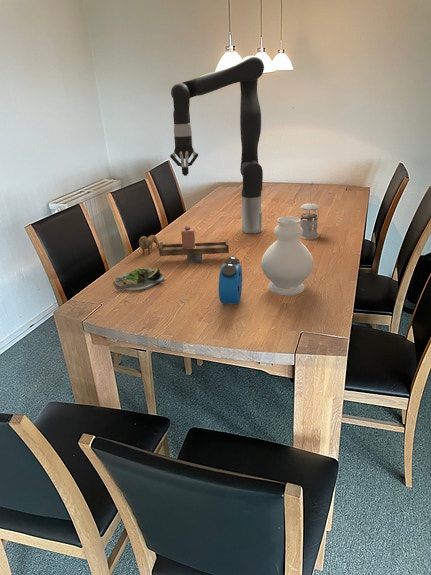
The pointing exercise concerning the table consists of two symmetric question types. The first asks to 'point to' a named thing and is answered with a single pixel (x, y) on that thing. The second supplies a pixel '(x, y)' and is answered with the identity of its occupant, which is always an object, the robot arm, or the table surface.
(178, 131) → the robot arm
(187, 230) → the rider
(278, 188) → the table surface
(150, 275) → the salad plate
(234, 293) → the alarm clock
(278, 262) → the decorative vase
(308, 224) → the french press
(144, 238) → the lion figurine
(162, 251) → the beam
